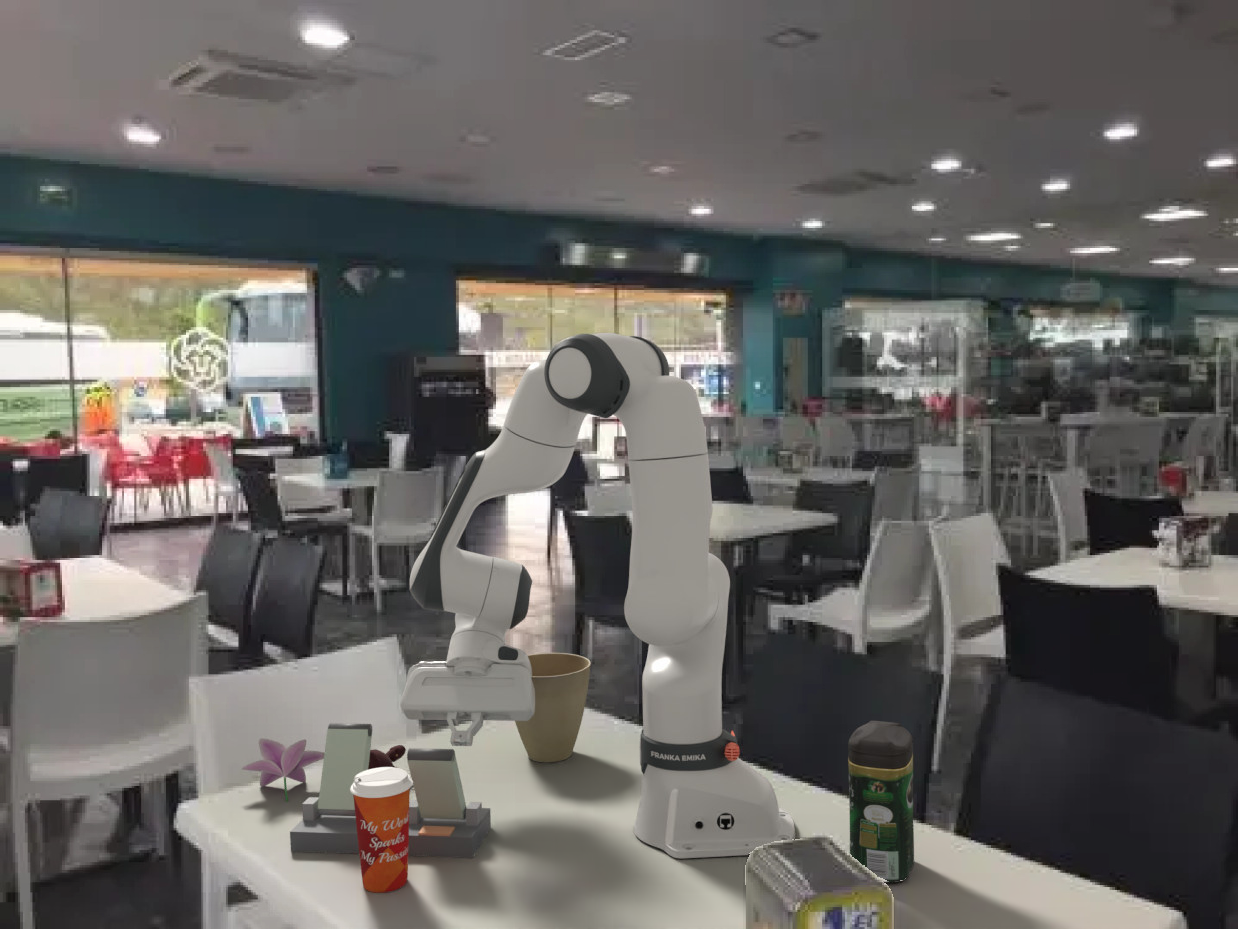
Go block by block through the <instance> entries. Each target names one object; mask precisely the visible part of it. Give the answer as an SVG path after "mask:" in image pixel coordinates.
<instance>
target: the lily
mask: <svg viewBox="0 0 1238 929" xmlns="http://www.w3.org/2000/svg"><path fill="white" fill-rule="evenodd" d="M306 747H307V739H306V738H305V739H300V740H299V741H297V742H294V743H293V744H291V745H289V746H288V747H287V746H286V745H284V744H282V743H280V742H279V741H276V740H273V739H269V738H259V739H258V748H259V751H260V755H261V757H262V758H261V759H260V760H257V761H254V762H251V763H248V764H247V765H245V766H243V767H242V768H241V770H242V771H243V770H244V771H250V772H252V771H253V772H261V773H260V777H259V786H260V787H261V788H262V787H266V786H268V785H270V784H271V783H274V782H275V781H276V780H279V779H281V778H283V783H284V784H283V785H284V794H285V801H286V802H289V796H288V788H287V778H288V779H290V780H294V781H297V782H299V783H302V782H305V783H306V782H307V775H306V772H305V769H304V768H305V767H306V766H309V765H311V764H313V763H316V762H319V761H321V760H324V754H325V752H324V751H323V752H322V751H316V750H306ZM286 802H285V803H286Z"/></svg>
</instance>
